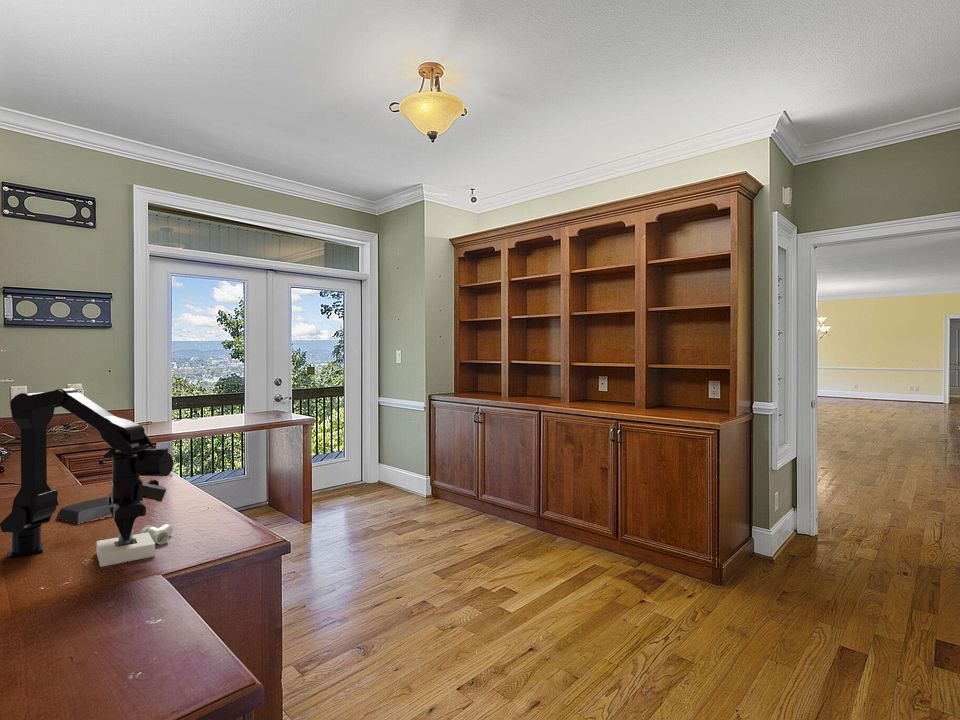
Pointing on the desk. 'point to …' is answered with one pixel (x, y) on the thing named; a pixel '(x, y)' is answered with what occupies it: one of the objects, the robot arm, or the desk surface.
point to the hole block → (125, 550)
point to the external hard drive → (86, 510)
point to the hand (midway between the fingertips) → (125, 538)
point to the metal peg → (127, 542)
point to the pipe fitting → (158, 533)
